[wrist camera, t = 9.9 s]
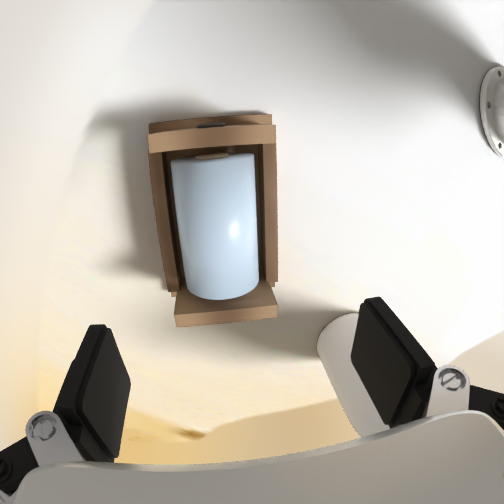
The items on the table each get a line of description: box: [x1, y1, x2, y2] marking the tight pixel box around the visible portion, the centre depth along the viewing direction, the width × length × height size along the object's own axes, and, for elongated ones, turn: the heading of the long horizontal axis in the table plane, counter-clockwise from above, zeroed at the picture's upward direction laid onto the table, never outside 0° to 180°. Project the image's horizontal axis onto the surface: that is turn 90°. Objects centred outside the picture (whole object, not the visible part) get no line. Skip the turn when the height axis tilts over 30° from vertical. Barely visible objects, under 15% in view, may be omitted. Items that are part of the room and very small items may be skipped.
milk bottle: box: [317, 313, 390, 437], centre depth 27 cm, size 8×8×20 cm
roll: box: [171, 152, 259, 300], centre depth 24 cm, size 10×6×6 cm, turn 2°
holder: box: [148, 114, 278, 327], centre depth 24 cm, size 10×16×7 cm, turn 2°
